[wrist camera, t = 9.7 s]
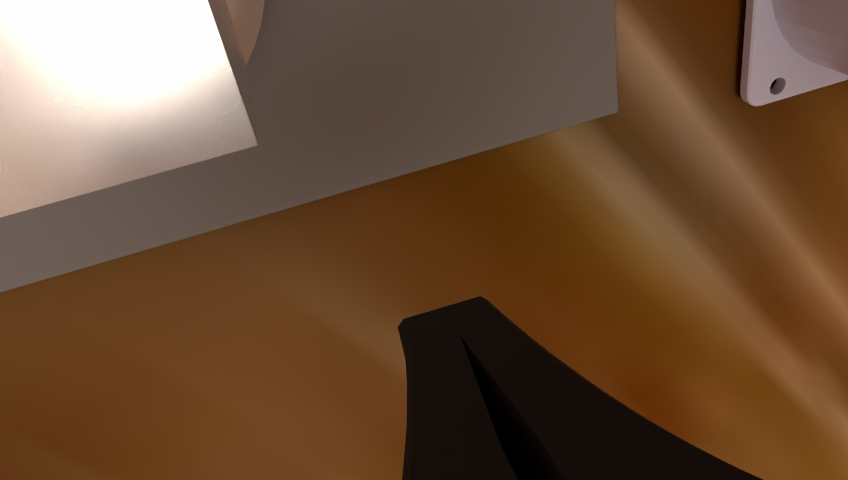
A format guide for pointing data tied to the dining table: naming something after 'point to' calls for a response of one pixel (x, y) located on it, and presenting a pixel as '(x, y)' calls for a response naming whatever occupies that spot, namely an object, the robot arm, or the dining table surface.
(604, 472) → the robot arm
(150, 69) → the pale pink cube
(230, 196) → the mat
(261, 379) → the dining table surface
